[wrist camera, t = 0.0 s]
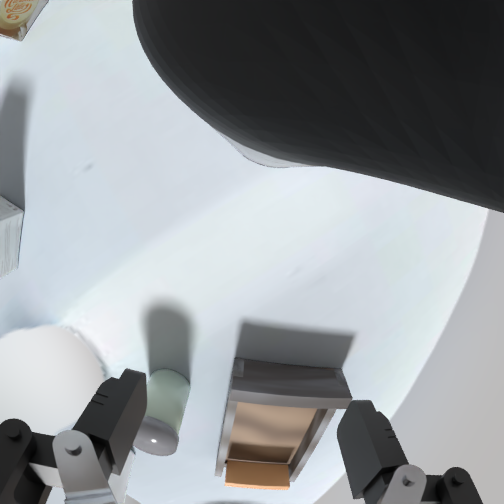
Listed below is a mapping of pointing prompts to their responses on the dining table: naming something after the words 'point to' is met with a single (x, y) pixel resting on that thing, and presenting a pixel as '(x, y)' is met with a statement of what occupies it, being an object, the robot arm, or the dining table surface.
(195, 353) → the dining table surface
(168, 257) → the dining table surface
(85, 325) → the dining table surface
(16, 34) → the coffee box
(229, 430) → the grey wooden tray
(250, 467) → the plate
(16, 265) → the skincare box
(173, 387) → the jar
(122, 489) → the drinking glass
